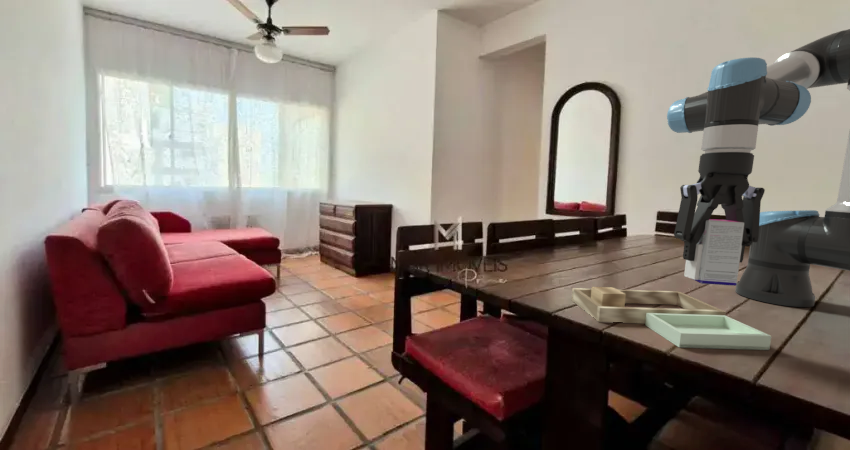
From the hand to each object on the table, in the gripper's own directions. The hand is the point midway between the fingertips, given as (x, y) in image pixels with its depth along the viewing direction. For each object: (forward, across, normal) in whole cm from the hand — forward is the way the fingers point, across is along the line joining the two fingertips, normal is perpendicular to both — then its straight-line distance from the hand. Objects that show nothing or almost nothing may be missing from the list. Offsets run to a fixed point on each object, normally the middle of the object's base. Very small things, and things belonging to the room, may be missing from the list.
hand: (710, 278), depth 69 cm
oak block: (+12, +12, -12) cm, 21 cm away
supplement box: (+1, 0, 0) cm, 1 cm away
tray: (+11, 0, 0) cm, 11 cm away
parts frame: (+11, +4, -13) cm, 18 cm away
